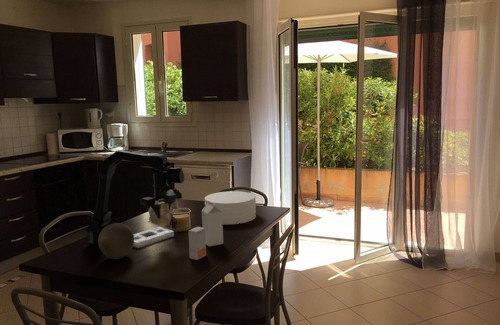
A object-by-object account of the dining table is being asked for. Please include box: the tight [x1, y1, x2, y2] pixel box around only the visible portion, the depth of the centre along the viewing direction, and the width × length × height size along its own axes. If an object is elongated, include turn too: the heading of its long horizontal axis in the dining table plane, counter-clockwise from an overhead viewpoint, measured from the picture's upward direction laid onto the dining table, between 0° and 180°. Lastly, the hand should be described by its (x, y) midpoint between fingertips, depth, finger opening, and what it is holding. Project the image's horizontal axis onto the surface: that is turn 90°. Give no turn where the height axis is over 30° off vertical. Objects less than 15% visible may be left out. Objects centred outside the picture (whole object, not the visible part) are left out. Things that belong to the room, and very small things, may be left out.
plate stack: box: [204, 190, 257, 225], centre depth 219 cm, size 28×28×12 cm
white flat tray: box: [132, 226, 175, 249], centre depth 186 cm, size 20×12×3 cm, turn 138°
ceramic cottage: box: [148, 199, 180, 223], centre depth 220 cm, size 16×16×15 cm
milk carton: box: [201, 201, 224, 247], centre depth 177 cm, size 7×7×19 cm
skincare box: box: [188, 226, 207, 261], centre depth 162 cm, size 6×4×12 cm
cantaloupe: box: [98, 222, 134, 260], centre depth 162 cm, size 14×14×15 cm
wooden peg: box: [156, 201, 171, 228], centre depth 176 cm, size 4×4×10 cm
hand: (162, 217), depth 176 cm, fingers closed on wooden peg, 4 cm apart
